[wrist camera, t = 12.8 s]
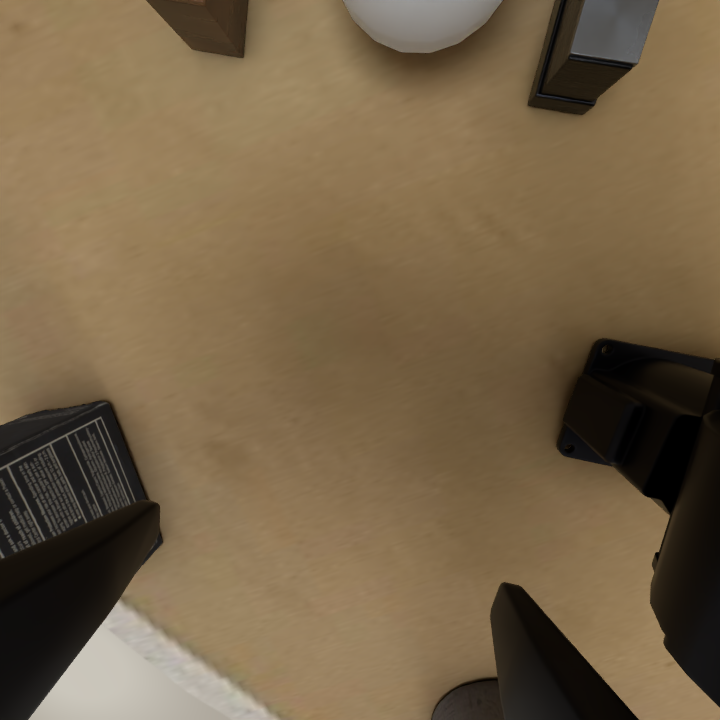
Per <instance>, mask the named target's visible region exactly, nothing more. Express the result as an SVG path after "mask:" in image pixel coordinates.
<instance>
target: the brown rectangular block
mask: <svg viewBox="0 0 720 720" xmlns="http://www.w3.org/2000/svg"><path fill="white" fill-rule="evenodd" d="M146 1H147V2H148V3H149V4H150V5H151V6H152V7H153V8H154V9H155V10H156V11H157V12H158V14H159V15H160V16H161V17H162V18H163V19H164V20H165V21H166V22H167V23H168V24H169V25H170V26H171V27H172V28H173V30H174V31H175V32H176V33H177V34H178V35H179V36H180V37H181V38H182V39H183V40H184V41H185V42H186V43H187V44H188V46H189V47H190V48H191V49H195V50H201V51H207V52H213V53H218V54H224V55H230V56H236V57H242V58H243V55H244V43H245V30H246V18H247V6H248V0H146Z"/></svg>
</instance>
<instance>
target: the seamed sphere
mask: <svg viewBox="0 0 720 720" xmlns="http://www.w3.org/2000/svg"><path fill="white" fill-rule="evenodd" d="M342 1H343V2H344V4H345V6H346V8H347V10H348V12H349V14H350V15H351V17H352V19H353V21H354V22H355V23H356V24H358V25H359V26H360V27H361V28H362V29H363V30H364V31H365V32H366V33H367V34H368V35H369V36H370V37H371V38H372V39H373V40H374V41H376V42H378V43H381V44H383V45H385V46H388V47H390V48H392V49H395V50H397V51H399V52H407V53H432V52H435V51H438V50H441V49H444V48H447V47H450V46H453V45H455V44H458V43H460V42H461V41H463V40H464V39H465V38H467V37H468V36H469V35H471V34H472V33H473V32H475V31H476V30H477V29H479V28H480V27H481V26H483V25H484V24H485V23H486V22H487V21H488V20H489V18H490V17H491V16H492V14H493V13H494V12H495V10H496V9H497V8H498V6H499V5H500V4H501V2H502V1H503V0H342Z"/></svg>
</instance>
